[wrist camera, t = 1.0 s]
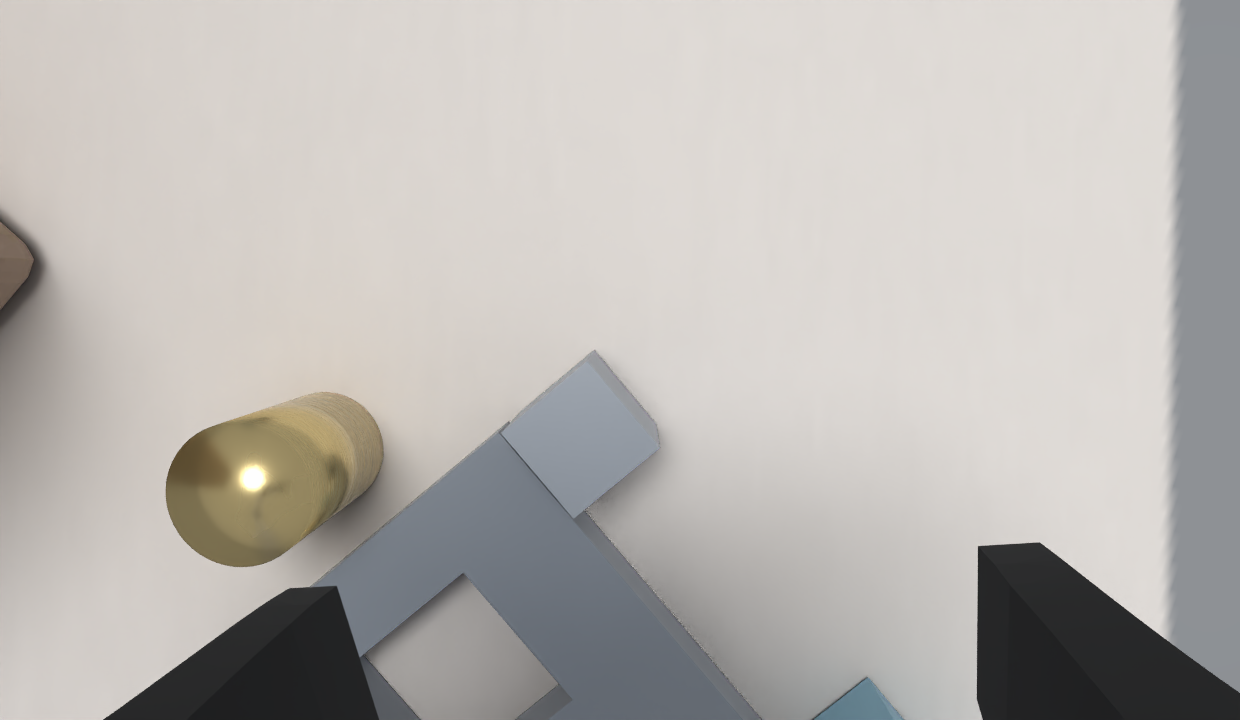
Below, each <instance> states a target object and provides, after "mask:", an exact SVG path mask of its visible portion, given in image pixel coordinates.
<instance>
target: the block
mask: <svg viewBox="0 0 1240 720" xmlns="http://www.w3.org/2000/svg"><path fill="white" fill-rule="evenodd" d="M33 261H34V259H33V257H32V255H31V253H30V252H29V250H28V248H27V246H26V244H25V243H24V242H23V241H21V240H20V239H19V238H18V237H17V236H16V235H15V234H14V233H12V232H11V231H10V230H9V229H8V228H7V227H6V226H5V225H3V224H2V223H1V222H0V310H1V309H2V307H3V306H4V305H5V304H6V303H7V302H8V300H9V299H10V298H11V297H12V296H13V294H14V293H15V292H16V291H17V290H18V288H19V287H20V286H21V285H22V284H23V283H24V281H25V280H26V279H27V278H28V277H29V274H30V270H31V267H32V264H33Z"/></svg>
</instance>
